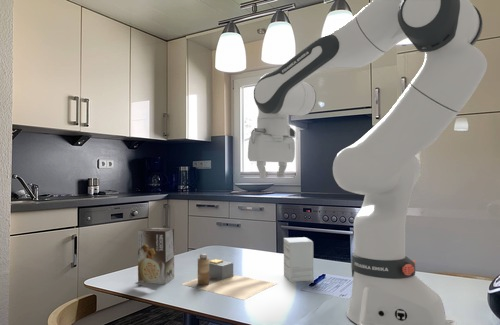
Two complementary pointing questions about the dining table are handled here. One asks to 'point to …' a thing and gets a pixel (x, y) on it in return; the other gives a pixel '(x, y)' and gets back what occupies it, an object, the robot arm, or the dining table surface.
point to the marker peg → (203, 270)
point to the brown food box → (156, 255)
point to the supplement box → (298, 259)
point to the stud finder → (220, 269)
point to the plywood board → (232, 286)
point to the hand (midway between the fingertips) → (272, 177)
